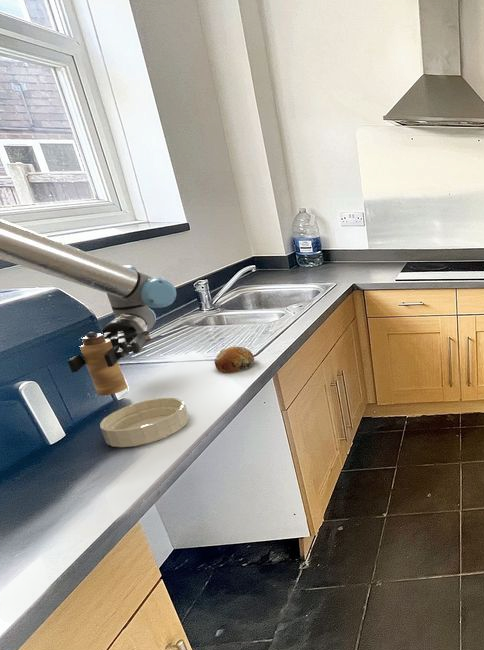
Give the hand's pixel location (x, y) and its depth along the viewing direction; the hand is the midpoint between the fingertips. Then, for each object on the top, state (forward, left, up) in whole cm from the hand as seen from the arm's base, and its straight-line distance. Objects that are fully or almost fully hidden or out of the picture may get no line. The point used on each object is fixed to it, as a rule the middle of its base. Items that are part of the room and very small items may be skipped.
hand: (90, 363), depth 90 cm
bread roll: (+22, +25, -16) cm, 37 cm away
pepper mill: (0, +5, -9) cm, 10 cm away
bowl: (+8, -7, -15) cm, 19 cm away
